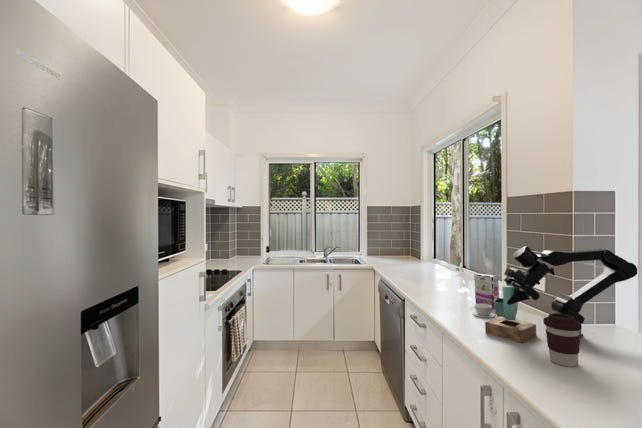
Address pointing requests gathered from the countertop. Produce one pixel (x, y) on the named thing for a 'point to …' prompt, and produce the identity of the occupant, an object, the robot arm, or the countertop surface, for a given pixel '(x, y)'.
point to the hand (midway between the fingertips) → (505, 302)
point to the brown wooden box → (511, 329)
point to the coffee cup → (563, 338)
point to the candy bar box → (486, 289)
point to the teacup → (483, 310)
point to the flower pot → (501, 307)
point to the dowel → (508, 309)
